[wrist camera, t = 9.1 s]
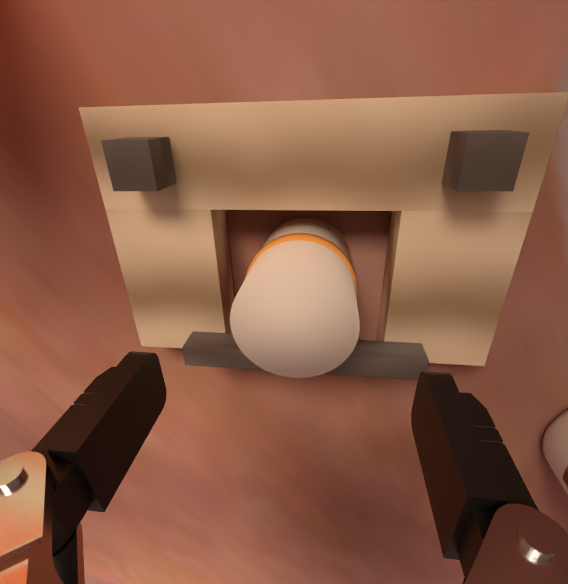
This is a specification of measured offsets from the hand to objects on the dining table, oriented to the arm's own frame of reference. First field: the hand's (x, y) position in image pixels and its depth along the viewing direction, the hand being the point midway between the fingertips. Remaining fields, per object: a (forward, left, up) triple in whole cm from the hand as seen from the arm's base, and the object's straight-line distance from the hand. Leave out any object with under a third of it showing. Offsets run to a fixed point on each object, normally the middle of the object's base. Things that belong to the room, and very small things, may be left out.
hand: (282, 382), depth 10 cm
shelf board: (-1, 0, -10) cm, 10 cm away
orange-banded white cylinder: (0, 0, -10) cm, 10 cm away
